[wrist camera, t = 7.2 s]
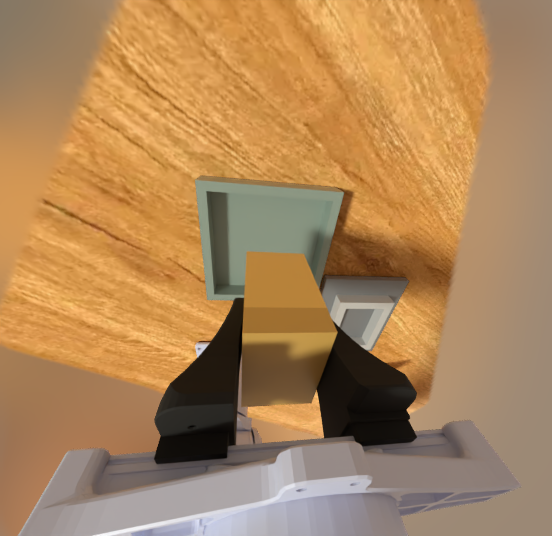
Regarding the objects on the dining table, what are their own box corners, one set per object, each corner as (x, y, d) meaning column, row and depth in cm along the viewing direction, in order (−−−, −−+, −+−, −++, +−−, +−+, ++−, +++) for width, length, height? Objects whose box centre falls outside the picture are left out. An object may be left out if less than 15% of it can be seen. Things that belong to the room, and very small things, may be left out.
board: (369, 346, 35) (376, 359, 33) (305, 347, 33) (308, 361, 31) (405, 277, 27) (416, 288, 25) (324, 275, 26) (330, 286, 24)
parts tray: (311, 289, 27) (316, 301, 25) (210, 287, 25) (207, 299, 23) (335, 187, 20) (344, 192, 18) (200, 175, 19) (195, 179, 17)
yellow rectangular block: (292, 315, 18) (311, 403, 12) (245, 315, 17) (241, 407, 12) (303, 253, 15) (337, 332, 9) (246, 251, 14) (242, 333, 8)
